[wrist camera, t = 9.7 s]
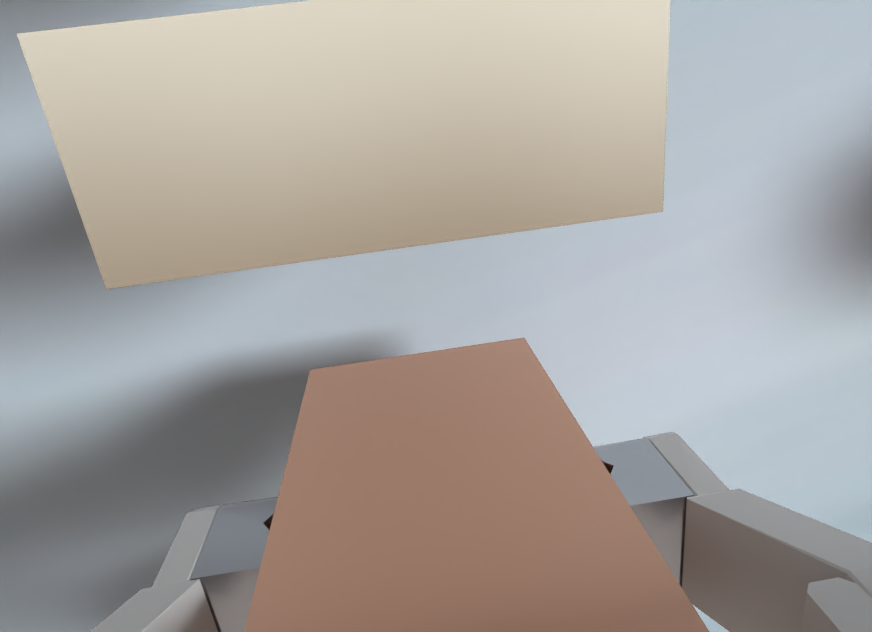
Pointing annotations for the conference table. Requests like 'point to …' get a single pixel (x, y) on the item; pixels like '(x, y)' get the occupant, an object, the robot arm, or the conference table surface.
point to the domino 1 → (351, 126)
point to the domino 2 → (454, 509)
